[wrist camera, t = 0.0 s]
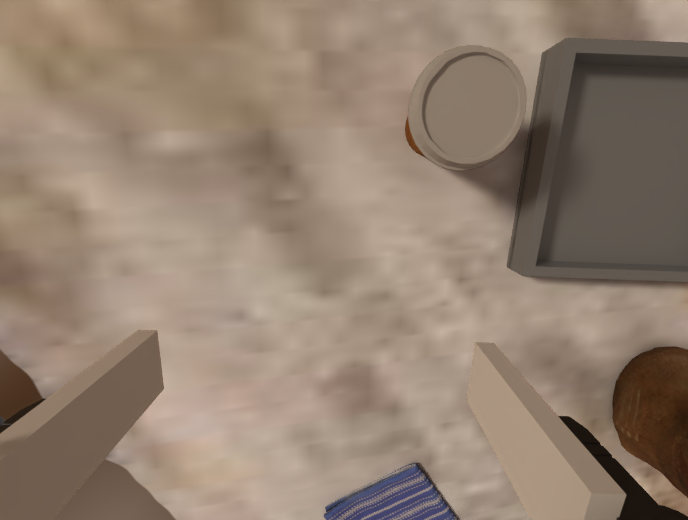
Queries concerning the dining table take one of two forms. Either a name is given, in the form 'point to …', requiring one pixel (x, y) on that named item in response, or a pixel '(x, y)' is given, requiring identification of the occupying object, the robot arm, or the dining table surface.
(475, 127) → the disposable coffee cup
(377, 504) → the dish towel
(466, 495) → the dining table surface
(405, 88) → the dining table surface
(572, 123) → the grey tray
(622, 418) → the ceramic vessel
